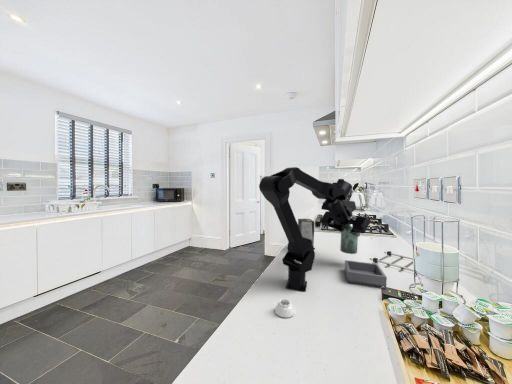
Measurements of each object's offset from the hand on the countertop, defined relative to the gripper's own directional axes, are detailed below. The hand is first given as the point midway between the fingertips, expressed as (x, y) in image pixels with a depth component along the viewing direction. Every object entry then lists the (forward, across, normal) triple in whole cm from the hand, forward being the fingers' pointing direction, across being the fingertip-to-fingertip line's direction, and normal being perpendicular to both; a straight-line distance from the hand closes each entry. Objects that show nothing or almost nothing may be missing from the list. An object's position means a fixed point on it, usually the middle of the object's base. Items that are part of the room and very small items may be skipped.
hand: (351, 233), depth 88 cm
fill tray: (+4, -10, +15) cm, 18 cm away
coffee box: (+7, +22, +12) cm, 26 cm away
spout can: (+4, 0, +6) cm, 7 cm away
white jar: (-22, -9, +42) cm, 48 cm away
